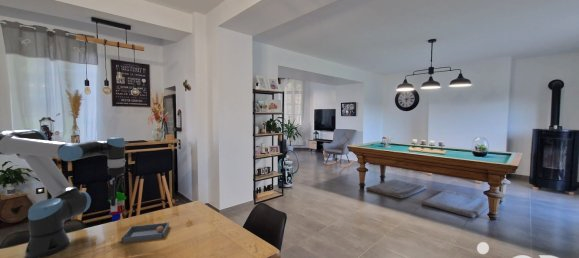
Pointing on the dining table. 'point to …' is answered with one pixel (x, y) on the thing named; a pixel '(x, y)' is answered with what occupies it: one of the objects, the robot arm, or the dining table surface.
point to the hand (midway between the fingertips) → (117, 208)
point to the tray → (144, 232)
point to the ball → (160, 229)
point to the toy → (120, 198)
